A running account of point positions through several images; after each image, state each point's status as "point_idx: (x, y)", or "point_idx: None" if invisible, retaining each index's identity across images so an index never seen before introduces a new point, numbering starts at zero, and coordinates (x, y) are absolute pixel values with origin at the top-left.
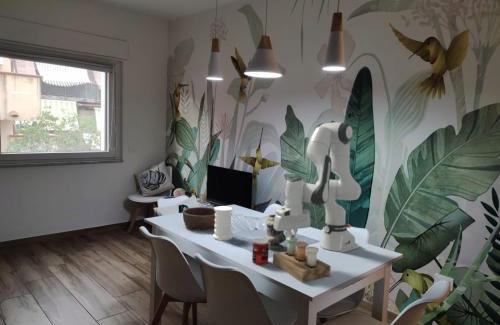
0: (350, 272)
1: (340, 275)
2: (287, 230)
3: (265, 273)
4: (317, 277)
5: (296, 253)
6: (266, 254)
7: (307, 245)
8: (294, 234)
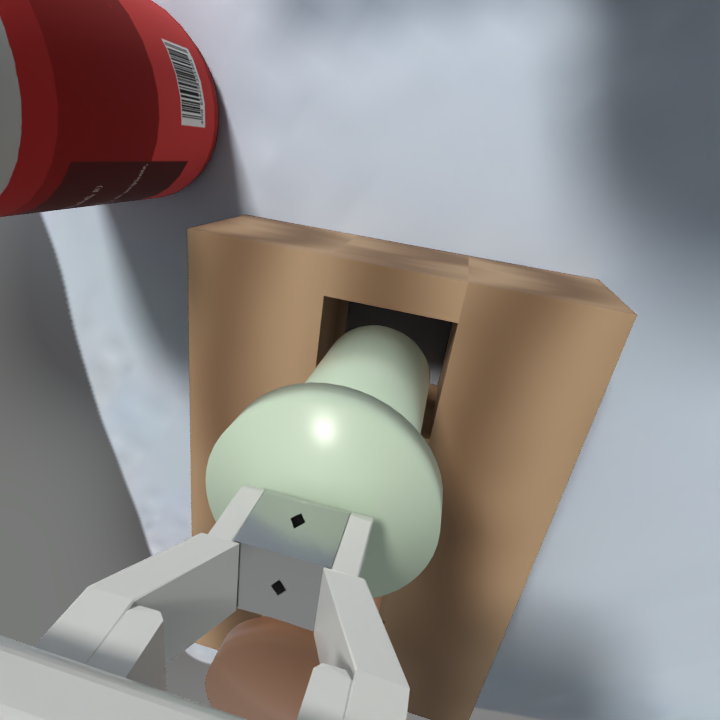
0: (666, 709)
1: (545, 680)
2: (77, 629)
3: (83, 345)
4: None
5: (454, 397)
6: (96, 204)
7: None
8: (315, 633)
